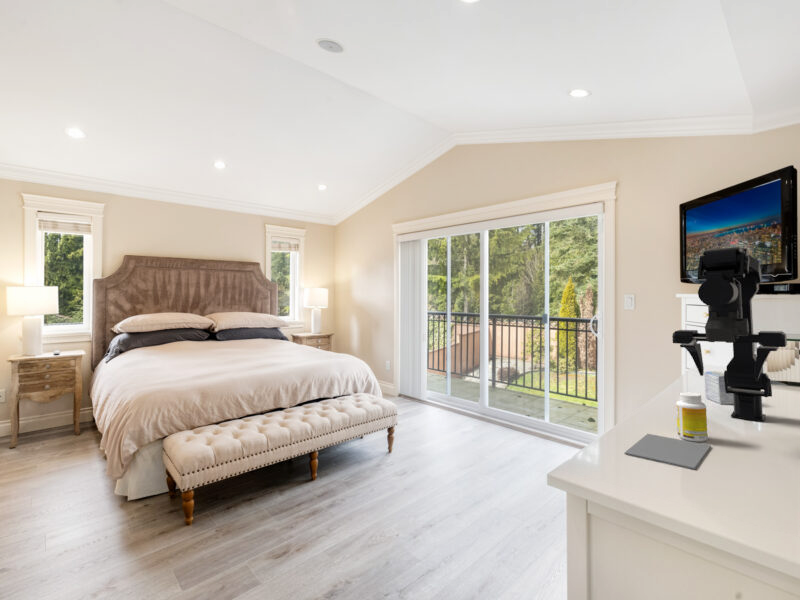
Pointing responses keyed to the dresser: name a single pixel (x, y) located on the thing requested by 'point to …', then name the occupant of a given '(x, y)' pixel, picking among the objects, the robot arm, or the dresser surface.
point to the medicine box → (717, 388)
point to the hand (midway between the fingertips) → (728, 377)
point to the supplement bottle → (691, 417)
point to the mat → (669, 451)
